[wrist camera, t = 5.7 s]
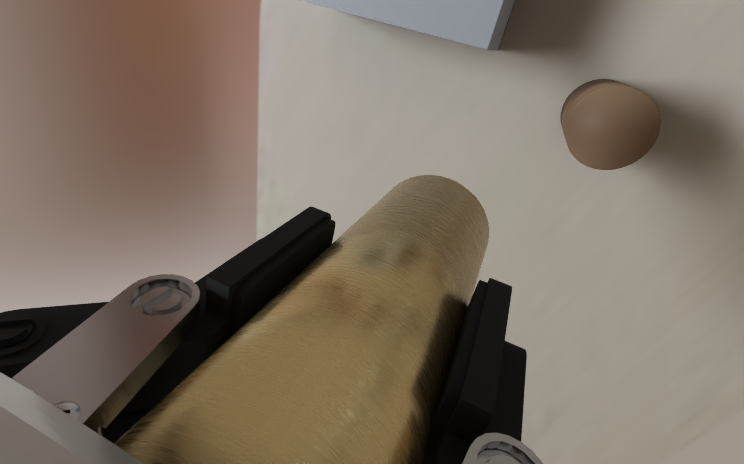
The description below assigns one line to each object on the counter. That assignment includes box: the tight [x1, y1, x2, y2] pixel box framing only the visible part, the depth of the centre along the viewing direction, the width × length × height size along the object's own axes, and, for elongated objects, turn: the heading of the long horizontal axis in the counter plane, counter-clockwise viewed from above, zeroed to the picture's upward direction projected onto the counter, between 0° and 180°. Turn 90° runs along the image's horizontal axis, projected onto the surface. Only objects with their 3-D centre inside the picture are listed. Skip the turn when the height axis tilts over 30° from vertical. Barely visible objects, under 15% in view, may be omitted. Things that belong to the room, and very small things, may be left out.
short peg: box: [561, 79, 661, 170], centre depth 22 cm, size 4×4×6 cm
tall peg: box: [114, 175, 489, 464], centre depth 9 cm, size 4×4×12 cm
